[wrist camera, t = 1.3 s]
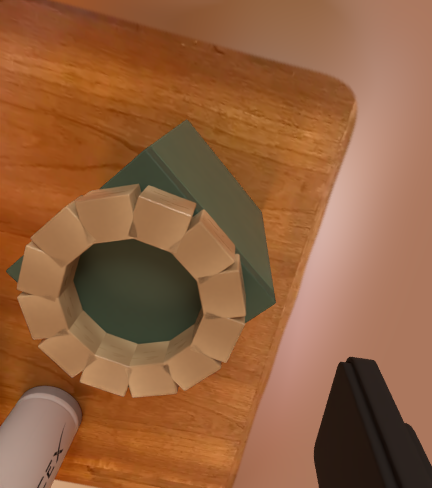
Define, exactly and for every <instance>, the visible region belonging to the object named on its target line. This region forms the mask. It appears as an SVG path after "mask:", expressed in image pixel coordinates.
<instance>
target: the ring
mask: <svg viewBox="0 0 432 488" xmlns="http://www.w3.org/2000/svg"><path fill="white" fill-rule="evenodd" d="M195 208H196V203H194V202H192V201H189V200H186V199H184V198H181V197H179V196H176V195H173V194H171V193H168V192H165V191H163V190H160V189H158V188H155V187H152V186H150V185H148V186H147V187H146V188H145V189H144V191H143V192H142V193H141V189H140V185H139V184H133V185H127V186H120V187H113V188H107V189H100V190H93V191H90V192H88V193H87V194H86V195H84V196H83V195H81V196H79V197H78V198H77V199H75V200H74V201H72V202H71V203H70V204H68V205H67V206H66V207H64V208H63V209H62V210H61V211H60V212H59V213H58V214H56V215H55V216H54V217H53V218H52V219H51V220H50V221H49V222H47V223H46V224H45V225H44V226H43V227H42V228H41V229H40V230H38V231H37V232H36V233H35V234H34V235H33V236H32V237H31V240H32V241H31V242H30V243H29V244H28V245H26V248H25V252H24V257H23V261H22V266H21V271H20V275H19V280H18V284H17V290H20V291H23V292H22V293H21V294H20V295H19V296H18V297H17V299H18V301H19V304H20V307H21V309H22V312H23V315H24V317H25V320H26V323H27V325H28V328H29V331H30V333H31V336H32V338H33V340H36V339H43V340H42V341H41V343H40V344H39V345H38V347H39V348H40V349H41V350H42V351H43V352H44V353H45V354H46V355H47V356H49V357H50V358H51V359H52V360H53V361H54V362H55V363H56V364H57V365H58V366H60V367H61V368H62V369H63V370H64V371H65V372H66V373H67V374H68V375H69V376H71V377H72V378H73V377H75V376H76V375H77V374H79V373H80V372H82V371H83V372H82V375H81V378H80V383H83V384H86V385H89V386H92V387H95V388H98V389H101V390H104V391H107V392H110V393H113V394H116V395H119V396H122V397H124V396H125V394H126V391H127V389H128V386H129V389H130V392H131V395H132V397H133V398H136V397H147V396H159V395H170V394H177V391H178V387H179V386H180V387H181V388H182V389H183V390H184V391H186V390H188V389H189V388H191V387H192V386H194V385H196V384H197V383H199V382H200V381H202V380H204V379H205V378H207V377H208V376H210V375H211V374H213V373H215V372H216V371H218V370H219V369H220V368H221V362H224V363H227V361H228V359H229V357H230V355H231V353H232V351H233V349H234V346H235V344H236V342H237V340H238V338H239V336H240V334H241V332H242V330H243V328H244V326H245V316H246V294H245V287H244V281H243V274H242V268H241V261H240V255H239V254H235V245H234V243H233V242H232V241H231V240H230V239H229V238H228V236H227V235H226V234H225V233H224V232H223V230H222V229H221V228H220V227H219V226H218V225H217V223H216V222H215V221H214V220H213V219H212V217H211V216H210V215H209V214H208V213H207V212H206V210H204V209H203V210H201V211H200V212H199V213H198V214H196V215H195V216H194V217H192V216H193V213H194V210H195ZM126 239H135V240H138V241H141V242H144V243H146V244H149V245H152V246H154V247H157V248H160V249H163V250H165V251H168V252H171V253H172V254H173V255H174V256H175V258H176V259H177V260H178V261H179V262H180V263H181V264H182V265H183V266H184V268H185V269H186V270H187V271H188V272H189V273H190V274H191V275H192V276H193V278H194V279H195V280H196V281H197V285H198V290H199V295H200V300H201V305H202V307H201V310H200V312H199V315H198V317H197V319H196V322H195V324H194V325H192V326H191V327H189V328H188V329H186V330H185V331H183V332H182V333H180V334H179V335H177V336H176V337H175V338H173V339H172V340H170V341H162V342H153V343H143V344H137V343H134V342H131V341H128V340H125V339H122V338H120V337H117V336H114V335H111V334H108V333H106V332H105V331H104V330H103V329H102V328H101V327H100V326H99V325H98V324H97V323H96V322H95V321H94V320H93V319H92V318H91V317H90V316H89V315H88V314H87V313H86V312H85V311H83V309H82V306H81V303H80V300H79V296H78V293H77V290H76V287H75V284H74V281H73V279H74V276H75V272H76V268H77V265H78V261H79V258H80V255H81V254H82V253H83V252H85V251H86V250H87V249H88V248H90V247H91V246H92V245H93V244H97V243H104V242H112V241H119V240H126Z"/></svg>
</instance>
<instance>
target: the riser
mask: <svg viewBox="0 0 432 488" xmlns="http://www.w3.org/2000/svg"><path fill="white" fill-rule="evenodd" d="M133 184H139V185H140V189H141V193H142V192H143V191H144V189H145V188H146V187H147V186H148V185H150V186H152V187H155V188H158V189H160V190H163V191H165V192H168V193H171V194H173V195H176V196H179V197H181V198H184V199H186V200H189V201H192V202H194V203H196V208H195V210H194V213H193V216H192V217H194V216H195V215H196V214H198V213H199V212H200V211H201V210H203V209H204V210H206V212H207V213H208V214H209V215H210V216H211V217H212V219H213V220H214V221H215V222H216V223H217V225H218V226H219V227H220V228H221V229H222V230H223V232H224V233H225V234H226V235H227V236H228V238H229V239H230V240H231V241H232V242H233V243H234V245H235V254H239V255H240V261H241V268H242V274H243V281H244V287H245V294H246V316H245V323H246V322H248V321H249V320H251V319H252V318H254V317H256V316H257V315H259V314H260V313H262V312H263V311H265V310H266V309H268V308H269V307H271V306H272V305H274V304H275V303H276V300H275V294H274V288H273V282H272V275H271V269H270V262H269V256H268V249H267V243H266V236H265V230H264V223H263V216H262V212H261V211H260V210H259V208H258V207H257V206H256V205H255V203H254V202H253V201H252V200H251V198H250V197H249V196H248V195H247V193H246V192H245V191H244V190H243V188H242V187H241V186H240V185H239V183H238V182H237V181H236V180H235V178H234V177H233V176H232V175H231V173H230V172H229V171H228V170H227V168H226V167H225V166H224V165H223V163H222V162H221V161H220V160H219V158H218V157H217V156H216V155H215V153H214V152H213V151H212V150H211V148H210V147H209V146H208V145H207V143H206V142H205V141H204V140H203V138H202V137H201V136H200V135H199V133H198V132H197V131H196V130H195V128H194V127H193V126H192V125H191V123H190V122H189V121H188V120H185V121H184V122H182V123H181V124H180V125H178V126H177V127H175V128H174V129H173V130H171V131H170V132H168V133H167V134H166V135H164V136H163V137H162V138H160V139H159V140H157V141H156V142H155V143H153V144H152V145H150V146H149V147H148V148H146V149H145V150H144V151H142V152H141V153H140V154H139V155H138V156H137V157H136V158H134V159H133V160H132V161H131V162H130V163H129V164H128V165H126V166H125V167H124V168H123V169H122V170H121V171H120V172H118V173H117V174H116V175H115V176H114V177H113V178H112V179H110V180H109V181H108V182H107V183H106V184H105V185H103V186H102V187H101V188H100V189H107V188H113V187H120V186H127V185H133ZM100 189H99V190H100ZM23 257H24V255H23V256H22V257H21V258H20V259H19V260H18V261H16V262H15V263H14V264H13V265H12V266H11V267H10V268H8V269H7V271H6V272H7V273H8V274H9V275H10V276H11V277H12V278H13V279H14V280H15V281H16V282H17V283H18V280H19V275H20V271H21V266H22V261H23ZM73 281H74V284H75V287H76V290H77V293H78V296H79V300H80V303H81V306H82V309H83V311H85V312H86V313H87V314H88V315H89V316H90V317H91V318H92V319H93V320H94V321H95V322H96V323H97V324H98V325H99V326H100V327H101V328H102V329H103V330H104V331H105V332H106V333H108V334H111V335H114V336H117V337H120V338H122V339H125V340H128V341H131V342H134V343H137V344H143V343H153V342H162V341H170V340H172V339H173V338H175V337H176V336H177V335H179V334H180V333H182V332H183V331H185V330H186V329H188V328H189V327H191V326H192V325H194V324H195V322H196V319H197V317H198V315H199V312H200V310H201V307H202V305H201V300H200V295H199V290H198V285H197V281H196V280H195V279H194V278H193V276H192V275H191V274H190V273H189V272H188V271H187V270H186V269H185V268H184V266H183V265H182V264H181V263H180V262H179V261H178V260H177V259H176V258H175V256H174V255H173V254H172V253H171V252H168V251H165V250H163V249H160V248H157V247H154V246H152V245H149V244H146V243H144V242H141V241H138V240H135V239H126V240H119V241H112V242H104V243H97V244H93V245H92V246H91V247H90V248H88V249H87V250H86V251H85V252H83V253H82V254H81V255H80V258H79V261H78V265H77V268H76V272H75V276H74V279H73ZM128 387H129V386H128Z"/></svg>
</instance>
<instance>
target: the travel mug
mask: <svg viewBox="0 0 432 488" xmlns="http://www.w3.org/2000/svg"><path fill="white" fill-rule="evenodd" d="M81 420H82V412H81V408H80V406H79V404H78V403H77V401H76V400H75V399H74V398H73V397H72V396H71V395H70V394H68V393H67V392H65V391H63V390H61V389H59V388H56V387H51V386H39V387H34V388H32V389H29V390H28V391H26V392H25V393H24V394H23V395H22V396H21V398H20V399H19V401H18V402H17V404H16V405H15V407H14V408H13V409H12V411H11V412H10V414H9V415H8V417H7V418H6V419H5V421H4V422H3V424H2V425H1V427H0V488H50V487H51V485H52V483H53V481H54V479H55V477H56V475H57V472H58V470H59V468H60V466H61V464H62V462H63V460H64V458H65V455H66V453H67V451H68V449H69V447H70V445H71V443H72V441H73V438H74V436H75V434H76V432H77V430H78V428H79V426H80V423H81Z"/></svg>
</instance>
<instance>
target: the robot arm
mask: <svg viewBox="0 0 432 488" xmlns="http://www.w3.org/2000/svg"><path fill="white" fill-rule="evenodd" d="M314 462H315V468H316V473H317V478H318V484H319V488H432V466H431V464H430V462H429V460H428V458H427V456H426V454H425V452H424V450H423V447H422V445H421V443H420V441H419V439H418V438H417V435H416V433H415V431H414V430H413V428H412V427H411V426H410V425H409V424H407V423H404V422H403V419H402V417H401V415H400V413H399V411H398V409H397V406H396V405H395V402H394V400H393V398H392V396H391V393H390V392H389V389H388V387H387V385H386V383H385V381H384V378H383V376H382V374H381V372H380V370H379V368H378V366H377V364H376V362H375V361H374V360H369V359H362V358H355V357H349V358H348V359H347V361H346V362H340V363H339V364H338V367H337V370H336V374H335V377H334V381H333V384H332V388H331V391H330V394H329V398H328V401H327V404H326V408H325V412H324V415H323V418H322V422H321V425H320V429H319V432H318V436H317V439H316V442H315V447H314Z"/></svg>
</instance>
